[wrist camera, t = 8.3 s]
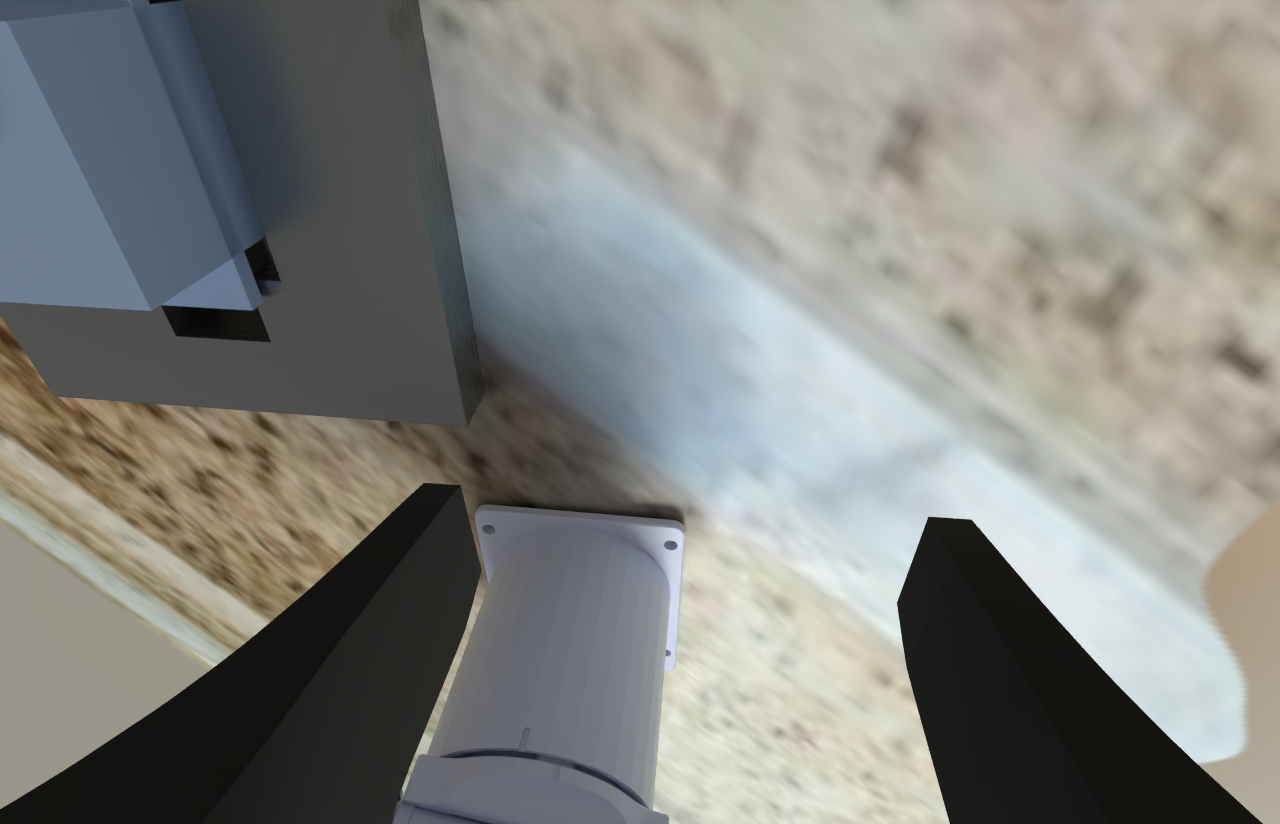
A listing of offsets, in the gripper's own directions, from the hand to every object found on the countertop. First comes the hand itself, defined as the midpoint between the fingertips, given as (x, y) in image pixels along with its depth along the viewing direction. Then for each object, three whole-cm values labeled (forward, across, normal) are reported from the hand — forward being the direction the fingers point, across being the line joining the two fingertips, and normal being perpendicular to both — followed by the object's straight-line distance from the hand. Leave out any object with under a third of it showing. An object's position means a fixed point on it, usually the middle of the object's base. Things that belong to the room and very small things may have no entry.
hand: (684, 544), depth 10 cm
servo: (+10, +14, -4) cm, 18 cm away
